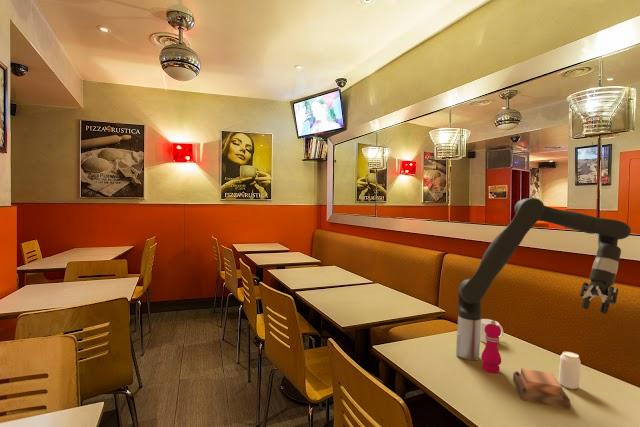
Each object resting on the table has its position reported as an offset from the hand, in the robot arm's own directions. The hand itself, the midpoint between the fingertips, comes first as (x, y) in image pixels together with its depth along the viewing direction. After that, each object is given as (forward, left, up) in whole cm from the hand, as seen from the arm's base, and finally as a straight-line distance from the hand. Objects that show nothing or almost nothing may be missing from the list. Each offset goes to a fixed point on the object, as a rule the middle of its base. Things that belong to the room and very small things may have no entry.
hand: (593, 310), depth 133 cm
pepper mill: (-36, -8, -27) cm, 45 cm away
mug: (-32, +26, -27) cm, 49 cm away
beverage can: (-10, -10, -27) cm, 30 cm away
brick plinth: (-22, -21, -27) cm, 40 cm away
